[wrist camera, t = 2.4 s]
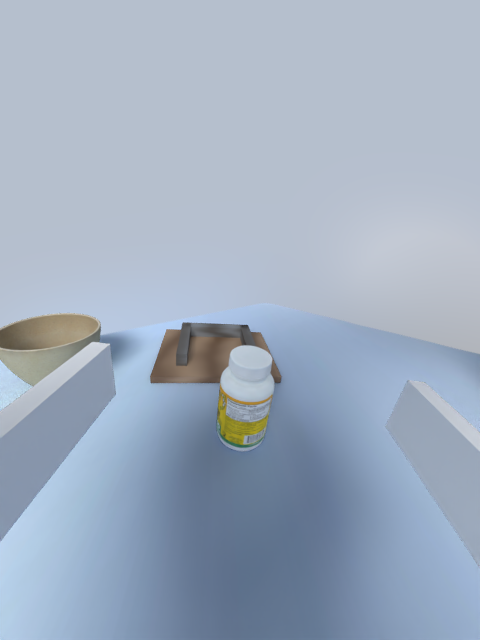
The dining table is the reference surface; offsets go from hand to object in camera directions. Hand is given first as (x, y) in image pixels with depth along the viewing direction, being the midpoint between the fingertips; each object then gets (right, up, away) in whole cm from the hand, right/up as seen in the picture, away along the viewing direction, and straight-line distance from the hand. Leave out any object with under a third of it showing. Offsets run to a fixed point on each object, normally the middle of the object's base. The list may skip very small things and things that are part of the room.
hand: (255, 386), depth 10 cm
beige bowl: (-24, -5, +19) cm, 31 cm away
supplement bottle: (-1, -9, +15) cm, 18 cm away
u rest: (-5, -3, +28) cm, 28 cm away
